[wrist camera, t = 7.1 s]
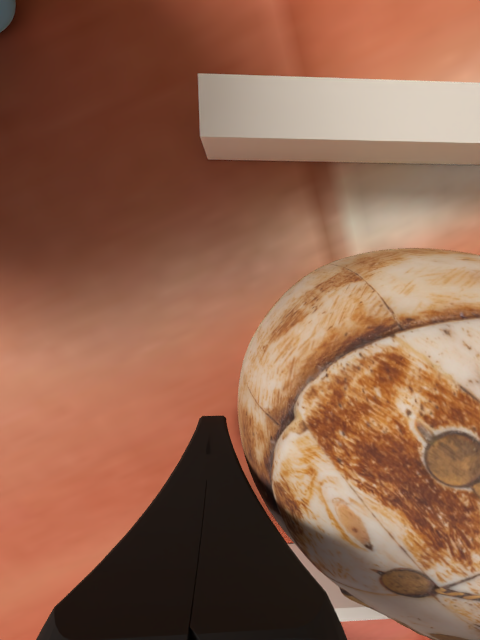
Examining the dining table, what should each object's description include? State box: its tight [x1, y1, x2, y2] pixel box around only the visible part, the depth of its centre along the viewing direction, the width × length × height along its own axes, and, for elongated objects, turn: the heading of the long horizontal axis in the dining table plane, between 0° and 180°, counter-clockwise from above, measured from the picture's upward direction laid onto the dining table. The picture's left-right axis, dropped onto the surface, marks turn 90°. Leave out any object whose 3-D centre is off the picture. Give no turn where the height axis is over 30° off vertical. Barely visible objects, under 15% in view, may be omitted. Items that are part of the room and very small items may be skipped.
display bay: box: [198, 73, 480, 621], centre depth 12 cm, size 22×17×3 cm
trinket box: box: [238, 248, 480, 640], centre depth 10 cm, size 13×15×8 cm
